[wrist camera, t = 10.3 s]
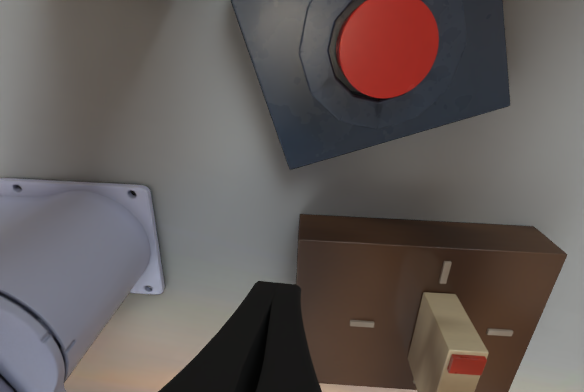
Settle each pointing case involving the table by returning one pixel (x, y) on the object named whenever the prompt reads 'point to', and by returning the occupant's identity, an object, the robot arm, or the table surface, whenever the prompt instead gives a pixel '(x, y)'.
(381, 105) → the button box
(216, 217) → the table surface
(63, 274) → the robot arm
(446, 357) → the cream block red label
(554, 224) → the table surface
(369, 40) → the button
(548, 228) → the table surface
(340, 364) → the panel
